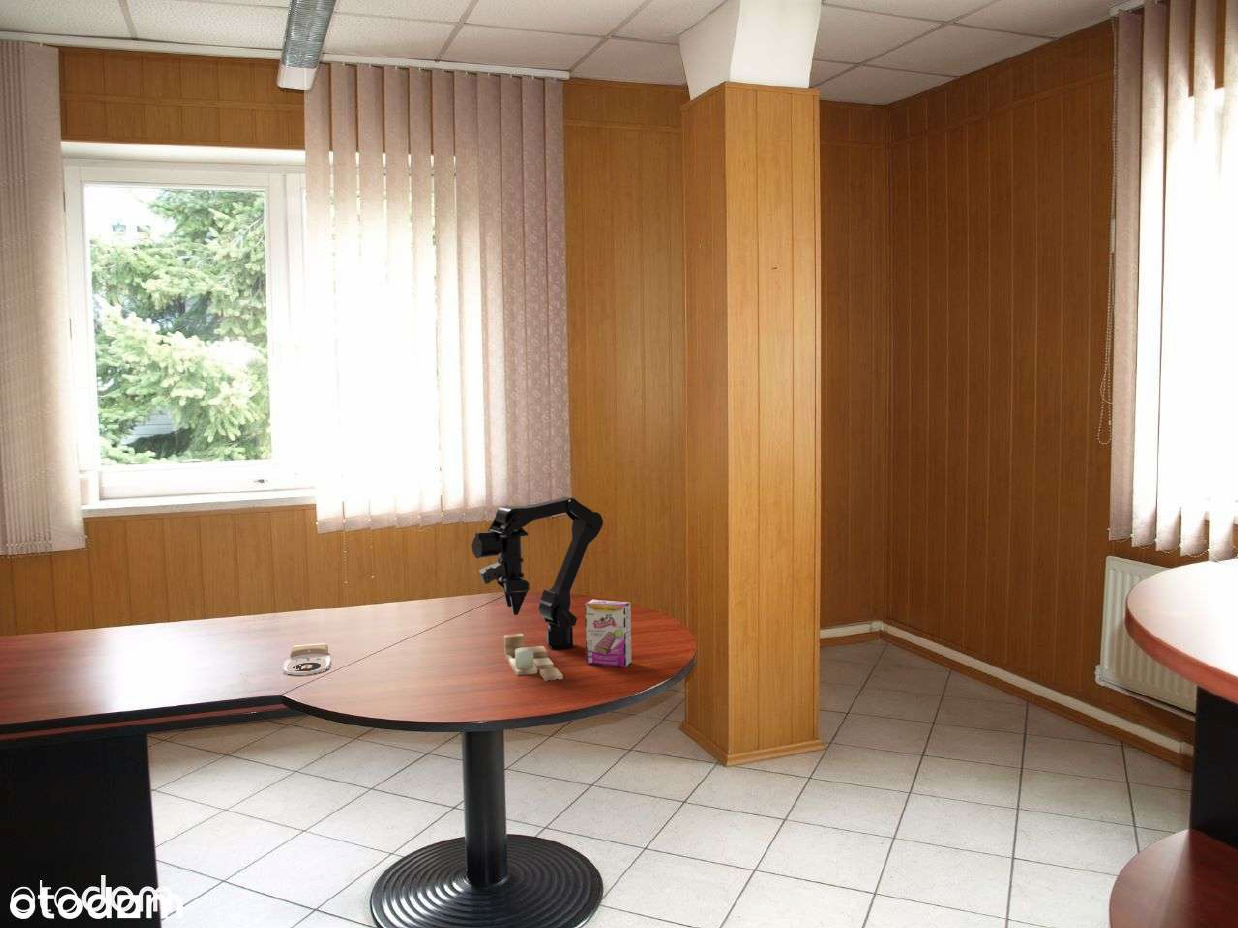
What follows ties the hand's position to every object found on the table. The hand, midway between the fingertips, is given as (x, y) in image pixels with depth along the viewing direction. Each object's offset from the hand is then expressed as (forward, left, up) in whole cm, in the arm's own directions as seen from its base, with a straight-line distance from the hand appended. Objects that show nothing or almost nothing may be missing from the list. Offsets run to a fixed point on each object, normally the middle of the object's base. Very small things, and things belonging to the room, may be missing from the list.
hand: (512, 610), depth 282 cm
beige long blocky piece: (0, +8, -12) cm, 15 cm away
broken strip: (-6, +13, -12) cm, 19 cm away
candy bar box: (-22, +16, -13) cm, 30 cm away
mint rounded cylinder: (0, +14, -11) cm, 18 cm away
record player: (+53, -12, -13) cm, 56 cm away
